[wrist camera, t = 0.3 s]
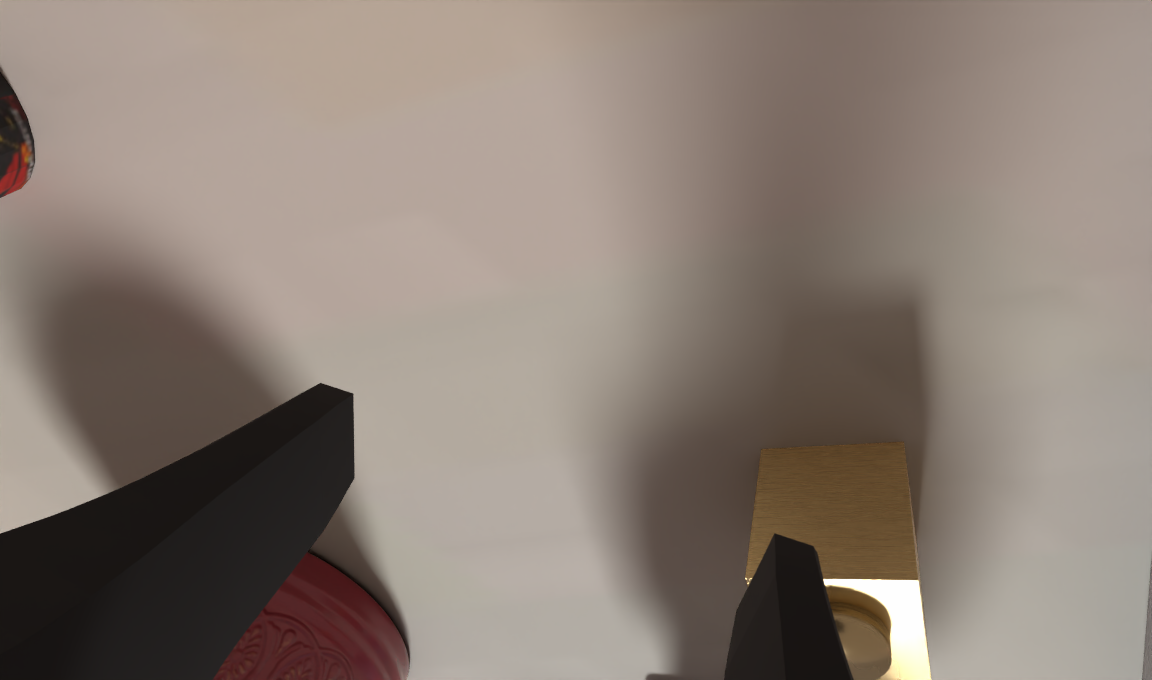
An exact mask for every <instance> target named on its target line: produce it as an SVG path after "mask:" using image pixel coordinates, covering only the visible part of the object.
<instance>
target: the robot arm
mask: <svg viewBox="0 0 1152 680" xmlns="http://www.w3.org/2000/svg"><path fill="white" fill-rule="evenodd" d="M353 480H354V412H353V393H350V392H346V391H343V390H340V389H337V388H334V387H331V386H328V385H325V384H322V383H320V384H318V385H316V386H314V387H312V388H310V389H309V390H307V391H305V392H303V393H301V394H299V395H298V396H296V397H294V398H292V399H291V400H289V401H287V402H285V403H283V404H282V405H280V406H278V407H276V408H275V409H273V410H271V411H269V412H268V413H266V414H264V415H262V416H260V417H259V418H257V419H255V420H253V421H252V422H250V423H248V424H246V425H244V426H243V427H241V428H239V429H237V430H235V431H233V432H232V433H230V434H228V435H226V436H224V437H222V438H221V439H219V440H217V441H215V442H213V443H211V444H209V445H208V446H206V447H204V448H202V449H200V450H198V451H196V452H194V453H192V454H190V455H189V456H187V457H184V458H182V459H180V460H178V461H176V462H174V463H172V464H170V465H168V466H166V467H164V468H162V469H160V470H158V471H156V472H154V473H152V474H150V475H148V476H146V477H144V478H142V479H139V480H137V481H135V482H133V483H131V484H128V485H126V486H124V487H122V488H120V489H117V490H115V491H113V492H110V493H108V494H106V495H103V496H101V497H98V498H96V499H93V500H91V501H89V502H86V503H84V504H81V505H79V506H76V507H74V508H71V509H69V510H66V511H64V512H61V513H58V514H56V515H53V516H50V517H47V518H44V519H41V520H39V521H36V522H33V523H30V524H27V525H24V526H21V527H18V528H15V529H12V530H10V531H7V532H4V533H1V534H0V680H213V679H214V677H215V675H216V674H217V672H218V671H219V669H220V667H221V666H222V664H223V663H224V661H225V660H226V658H227V657H228V656H229V654H230V653H231V651H232V650H233V649H234V647H235V646H236V644H237V643H238V641H239V640H240V639H241V637H242V636H243V635H244V633H245V632H246V631H247V629H248V628H249V627H250V626H251V624H252V623H253V622H254V620H255V619H256V618H257V617H258V615H259V614H260V613H261V611H262V610H263V609H264V607H265V606H266V605H267V604H268V602H269V601H270V600H271V598H272V597H273V596H274V595H275V593H276V592H277V591H278V589H279V588H280V587H281V585H282V584H283V583H284V582H285V580H286V579H287V578H288V576H289V575H290V574H291V573H292V571H293V570H294V569H295V567H296V566H297V565H298V563H299V562H300V561H301V559H302V558H303V557H304V556H305V554H306V553H307V552H308V550H309V549H310V548H311V546H312V545H313V544H314V542H315V541H316V540H317V538H318V537H319V536H320V534H321V533H322V532H323V530H324V529H325V527H326V526H327V524H328V522H329V521H330V519H331V517H332V516H333V514H334V513H335V511H336V509H337V508H338V506H339V504H340V502H341V501H342V499H343V497H344V495H345V494H346V492H347V490H348V488H349V487H350V485H351V483H352V481H353ZM724 680H854V679H853V676H852V673H851V670H850V667H849V664H848V661H847V658H846V655H845V652H844V649H843V646H842V643H841V640H840V637H839V633H838V630H837V626H836V623H835V620H834V616H833V613H832V609H831V606H830V602H829V598H828V595H827V591H826V587H825V583H824V579H823V575H822V571H821V566H820V562H819V557H818V553H817V551H816V550H815V548H814V546H812V545H809V544H806V543H803V542H800V541H797V540H794V539H791V538H788V537H785V536H782V535H779V534H776V533H774V535H773V537H772V539H771V541H770V543H769V545H768V547H767V549H766V552H765V554H764V556H763V558H762V560H761V562H760V564H759V566H758V568H757V570H756V572H755V574H754V576H753V578H752V580H751V582H750V584H749V586H748V588H747V590H746V593H745V595H744V597H743V599H742V601H741V603H740V605H739V607H738V609H737V612H736V617H735V622H734V627H733V632H732V637H731V642H730V648H729V653H728V659H727V664H726V669H725V678H724Z"/></svg>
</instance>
